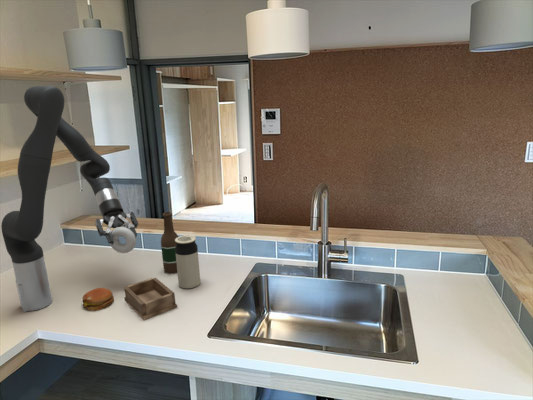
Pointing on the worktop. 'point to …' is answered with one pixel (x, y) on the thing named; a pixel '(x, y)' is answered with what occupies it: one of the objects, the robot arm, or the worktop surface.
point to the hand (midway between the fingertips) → (123, 240)
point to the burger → (97, 299)
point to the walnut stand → (150, 298)
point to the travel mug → (187, 261)
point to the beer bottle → (169, 245)
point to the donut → (127, 235)
